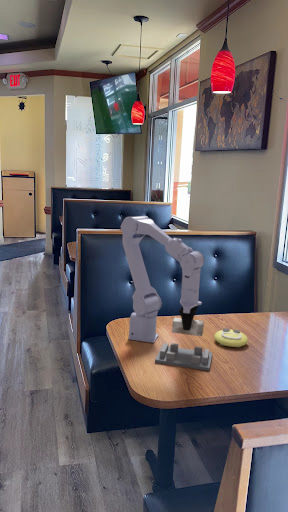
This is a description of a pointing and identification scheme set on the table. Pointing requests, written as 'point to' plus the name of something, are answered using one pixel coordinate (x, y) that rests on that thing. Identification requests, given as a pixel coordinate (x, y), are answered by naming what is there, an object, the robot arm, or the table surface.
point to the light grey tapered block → (194, 330)
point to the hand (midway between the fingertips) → (187, 327)
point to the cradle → (184, 357)
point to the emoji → (231, 338)
